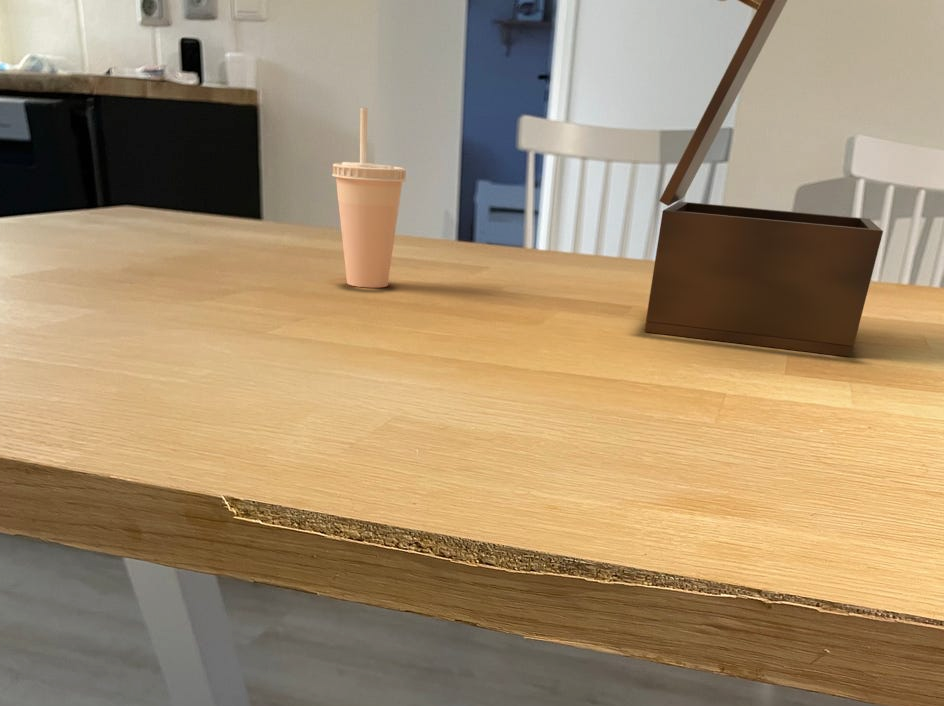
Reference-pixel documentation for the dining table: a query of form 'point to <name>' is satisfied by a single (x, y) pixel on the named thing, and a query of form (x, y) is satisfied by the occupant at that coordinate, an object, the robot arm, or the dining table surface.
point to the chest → (762, 277)
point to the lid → (723, 96)
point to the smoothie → (368, 215)
